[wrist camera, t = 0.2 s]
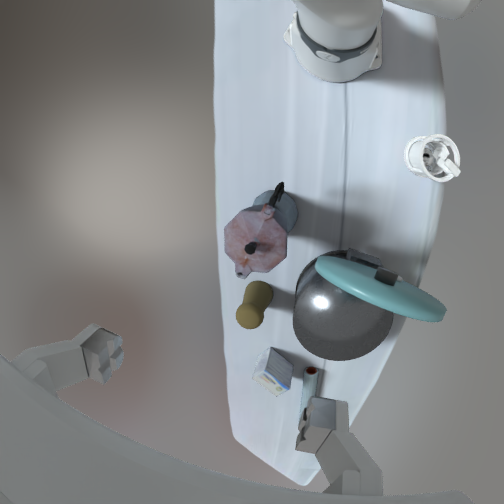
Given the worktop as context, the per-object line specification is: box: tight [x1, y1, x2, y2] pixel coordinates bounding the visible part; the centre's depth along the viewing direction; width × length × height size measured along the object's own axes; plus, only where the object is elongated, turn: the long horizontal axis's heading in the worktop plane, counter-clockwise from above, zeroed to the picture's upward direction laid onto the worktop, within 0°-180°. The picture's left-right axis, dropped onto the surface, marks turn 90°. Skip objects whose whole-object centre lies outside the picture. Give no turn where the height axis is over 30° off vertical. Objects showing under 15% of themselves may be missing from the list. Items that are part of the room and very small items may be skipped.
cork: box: [236, 281, 273, 329], centre depth 58 cm, size 6×6×11 cm
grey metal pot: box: [293, 248, 393, 361], centre depth 54 cm, size 21×19×11 cm
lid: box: [315, 256, 447, 322], centre depth 36 cm, size 19×19×3 cm
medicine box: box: [252, 347, 293, 397], centre depth 64 cm, size 8×4×9 cm, turn 48°
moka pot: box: [224, 182, 298, 279], centre depth 47 cm, size 10×15×20 cm, turn 162°
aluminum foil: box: [298, 367, 318, 426], centre depth 70 cm, size 23×7×3 cm, turn 2°
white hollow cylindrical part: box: [404, 134, 461, 182], centre depth 41 cm, size 7×7×15 cm
